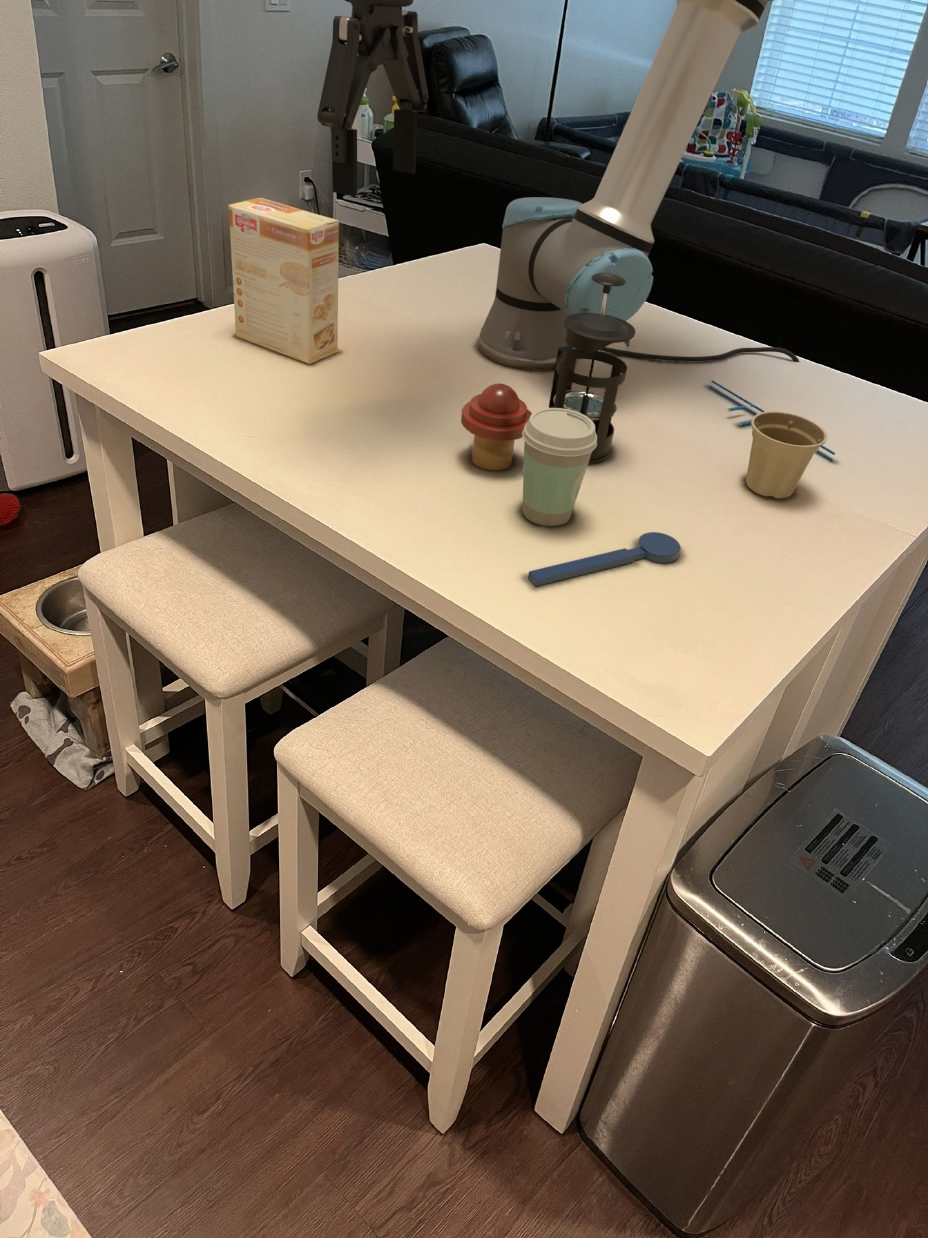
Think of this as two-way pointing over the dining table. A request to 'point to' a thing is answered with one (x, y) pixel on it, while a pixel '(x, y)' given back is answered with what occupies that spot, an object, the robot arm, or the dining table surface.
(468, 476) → the dining table surface
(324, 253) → the coffeecake box
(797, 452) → the flower pot
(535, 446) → the coffee cup
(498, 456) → the mushroom
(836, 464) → the dining table surface
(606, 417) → the french press
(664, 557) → the spoon
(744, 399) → the chopsticks
